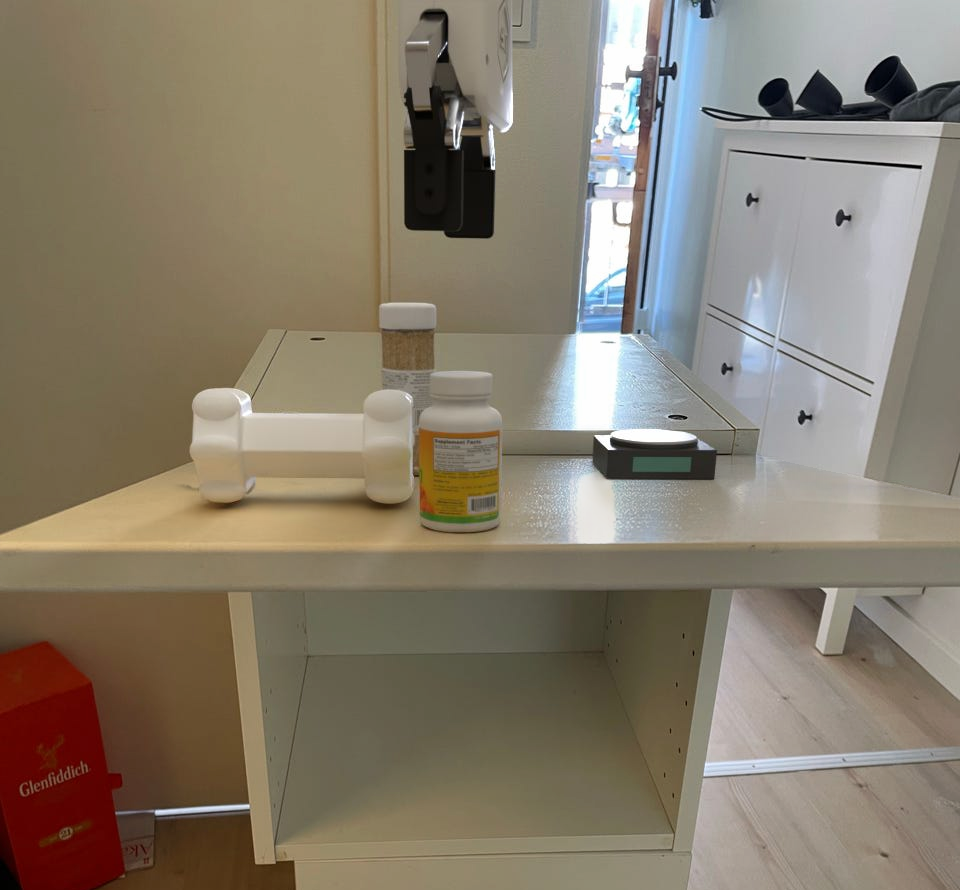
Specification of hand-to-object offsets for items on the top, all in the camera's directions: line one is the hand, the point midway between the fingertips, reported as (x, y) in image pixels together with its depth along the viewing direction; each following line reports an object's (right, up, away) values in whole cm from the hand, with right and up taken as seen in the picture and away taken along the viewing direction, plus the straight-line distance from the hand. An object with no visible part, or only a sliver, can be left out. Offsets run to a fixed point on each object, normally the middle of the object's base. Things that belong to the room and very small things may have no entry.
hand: (452, 234), depth 59 cm
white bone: (-11, -15, +12) cm, 22 cm away
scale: (+16, -10, +26) cm, 32 cm away
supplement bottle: (0, -17, +7) cm, 18 cm away
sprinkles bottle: (-4, -10, +24) cm, 26 cm away
